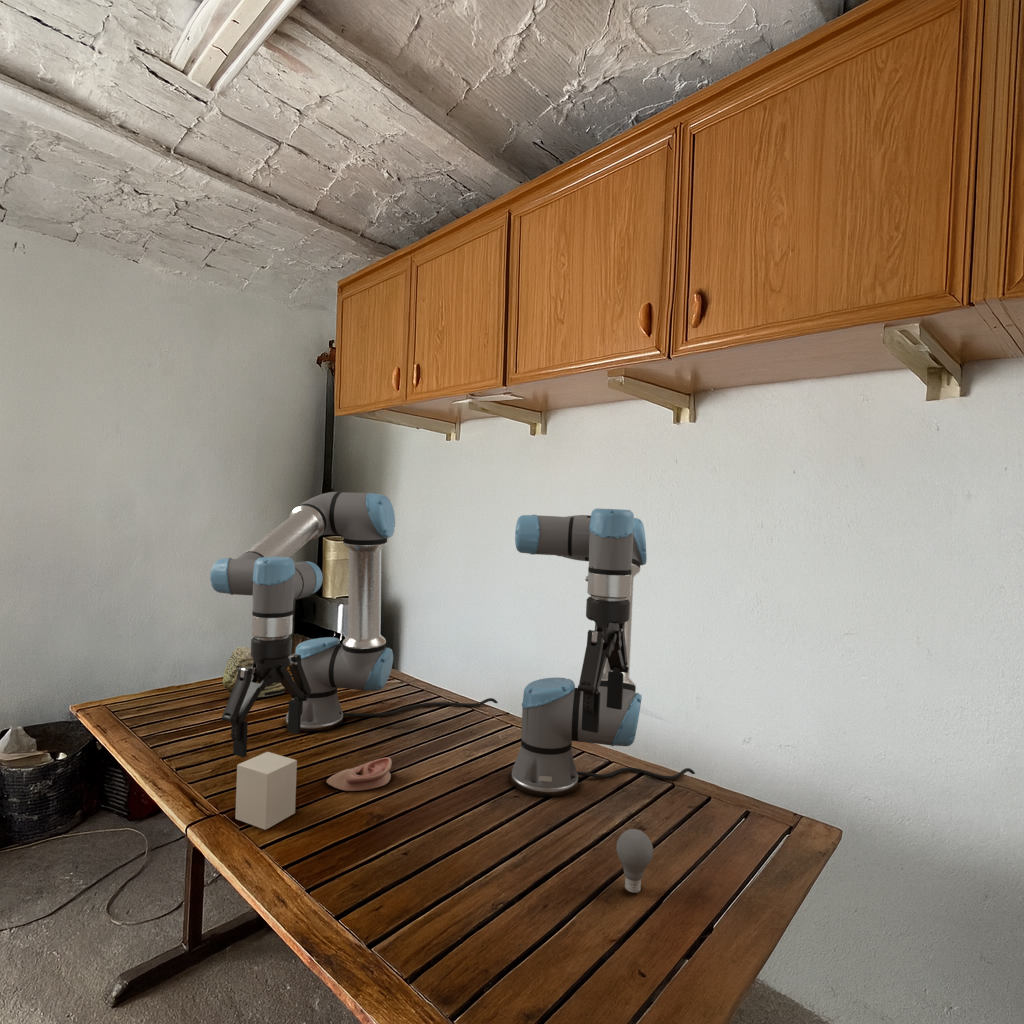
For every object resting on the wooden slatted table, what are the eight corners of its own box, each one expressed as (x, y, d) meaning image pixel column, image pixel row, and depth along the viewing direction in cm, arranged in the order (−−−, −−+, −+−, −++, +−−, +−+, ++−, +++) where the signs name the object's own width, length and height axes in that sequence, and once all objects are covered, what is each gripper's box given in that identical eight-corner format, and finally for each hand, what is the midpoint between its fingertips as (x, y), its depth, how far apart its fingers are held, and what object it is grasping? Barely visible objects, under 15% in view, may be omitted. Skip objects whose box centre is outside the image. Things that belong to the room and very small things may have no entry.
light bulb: (610, 879, 108) (613, 822, 108) (644, 879, 109) (647, 822, 109) (619, 902, 102) (622, 840, 102) (655, 901, 103) (658, 840, 103)
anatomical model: (320, 769, 137) (344, 749, 149) (319, 787, 138) (343, 766, 149) (377, 777, 135) (397, 756, 146) (376, 795, 135) (397, 773, 146)
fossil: (218, 695, 195) (220, 647, 195) (278, 685, 208) (279, 640, 207) (228, 703, 189) (230, 653, 188) (289, 692, 201) (290, 645, 201)
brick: (265, 803, 130) (267, 751, 130) (295, 813, 127) (297, 760, 126) (235, 818, 123) (237, 764, 123) (265, 830, 120) (267, 774, 120)
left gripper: (304, 623, 137) (300, 720, 138) (203, 645, 115) (199, 761, 115) (330, 628, 134) (327, 727, 134) (232, 651, 111) (228, 771, 112)
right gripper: (609, 587, 123) (604, 696, 123) (561, 604, 100) (555, 737, 101) (647, 591, 119) (642, 703, 120) (607, 609, 97) (601, 747, 97)
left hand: (268, 743), depth 125 cm, fingers open, 13 cm apart
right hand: (602, 719), depth 110 cm, fingers open, 13 cm apart
